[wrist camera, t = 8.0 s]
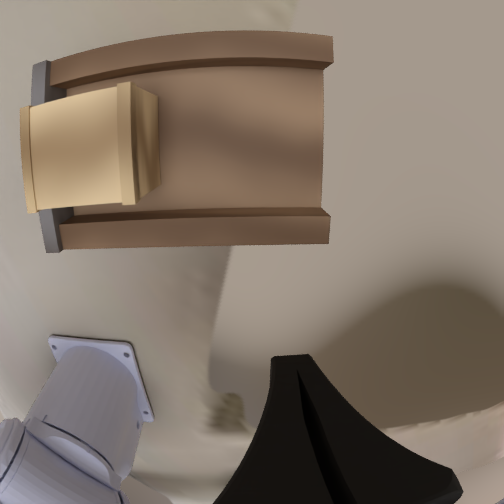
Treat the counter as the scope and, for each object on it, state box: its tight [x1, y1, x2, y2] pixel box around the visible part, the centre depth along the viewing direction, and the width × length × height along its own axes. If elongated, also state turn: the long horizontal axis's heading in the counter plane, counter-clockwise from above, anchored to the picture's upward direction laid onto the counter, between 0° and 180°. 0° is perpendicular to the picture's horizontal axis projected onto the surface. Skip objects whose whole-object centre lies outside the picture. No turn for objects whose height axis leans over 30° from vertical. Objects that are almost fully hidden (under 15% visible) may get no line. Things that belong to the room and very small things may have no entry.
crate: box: [20, 82, 161, 213], centre depth 13 cm, size 5×6×5 cm
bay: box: [31, 31, 334, 253], centre depth 15 cm, size 11×16×4 cm
